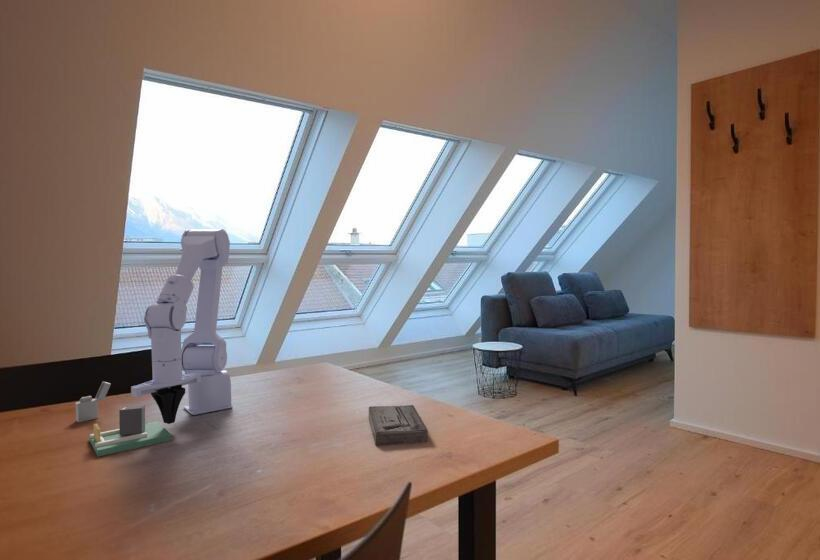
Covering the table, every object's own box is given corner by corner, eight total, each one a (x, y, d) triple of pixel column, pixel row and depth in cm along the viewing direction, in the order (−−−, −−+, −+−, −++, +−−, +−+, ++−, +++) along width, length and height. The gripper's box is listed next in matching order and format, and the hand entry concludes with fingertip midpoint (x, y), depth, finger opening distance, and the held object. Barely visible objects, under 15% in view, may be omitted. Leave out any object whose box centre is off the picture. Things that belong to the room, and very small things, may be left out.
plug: (145, 429, 108) (144, 405, 109) (141, 433, 104) (141, 407, 105) (123, 432, 107) (123, 407, 107) (119, 435, 103) (119, 409, 104)
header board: (158, 426, 114) (157, 407, 114) (171, 440, 105) (170, 420, 105) (89, 440, 106) (88, 420, 106) (97, 456, 97) (96, 434, 97)
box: (413, 417, 120) (413, 404, 120) (428, 444, 103) (428, 429, 103) (367, 419, 118) (367, 406, 118) (374, 447, 101) (374, 431, 101)
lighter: (78, 422, 117) (77, 387, 117) (75, 421, 118) (74, 386, 118) (112, 414, 123) (110, 381, 122) (109, 413, 124) (107, 380, 123)
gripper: (187, 351, 118) (189, 410, 118) (122, 363, 106) (124, 428, 106) (206, 354, 114) (207, 415, 114) (140, 367, 102) (143, 435, 102)
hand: (169, 422), depth 110 cm, fingers closed
